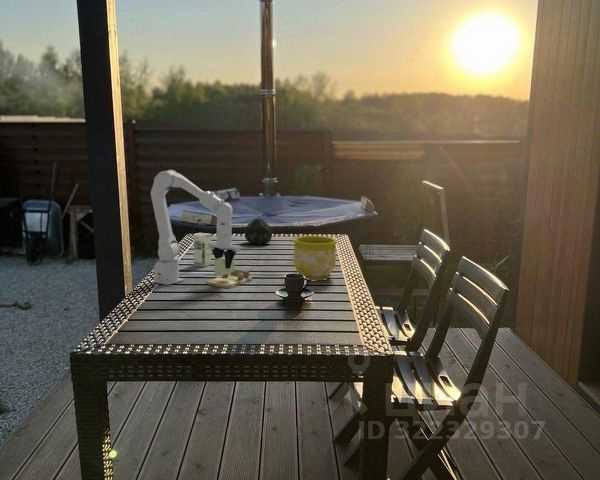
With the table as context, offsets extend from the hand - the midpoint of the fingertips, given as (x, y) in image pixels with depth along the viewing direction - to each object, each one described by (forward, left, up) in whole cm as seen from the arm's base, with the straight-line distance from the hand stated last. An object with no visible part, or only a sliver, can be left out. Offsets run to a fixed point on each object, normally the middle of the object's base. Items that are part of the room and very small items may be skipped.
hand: (224, 267), depth 233 cm
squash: (+79, +38, -7) cm, 88 cm away
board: (+3, 0, -7) cm, 8 cm away
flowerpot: (+30, -24, -7) cm, 39 cm away
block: (0, 0, -2) cm, 2 cm away
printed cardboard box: (+20, +28, -7) cm, 35 cm away
